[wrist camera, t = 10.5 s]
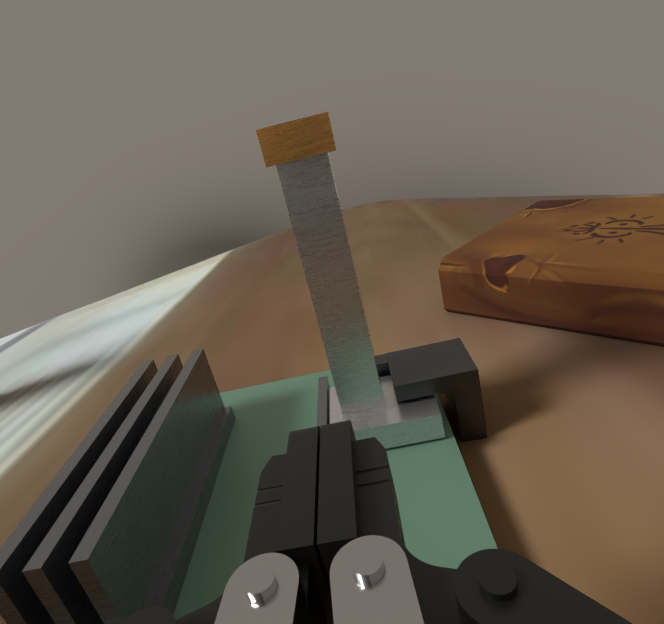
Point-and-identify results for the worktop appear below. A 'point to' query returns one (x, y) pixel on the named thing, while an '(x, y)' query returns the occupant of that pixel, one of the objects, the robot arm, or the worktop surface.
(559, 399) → the worktop surface
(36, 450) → the worktop surface
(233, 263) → the worktop surface
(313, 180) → the clip lever
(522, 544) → the worktop surface
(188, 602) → the board
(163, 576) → the heatsink
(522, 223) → the diary
